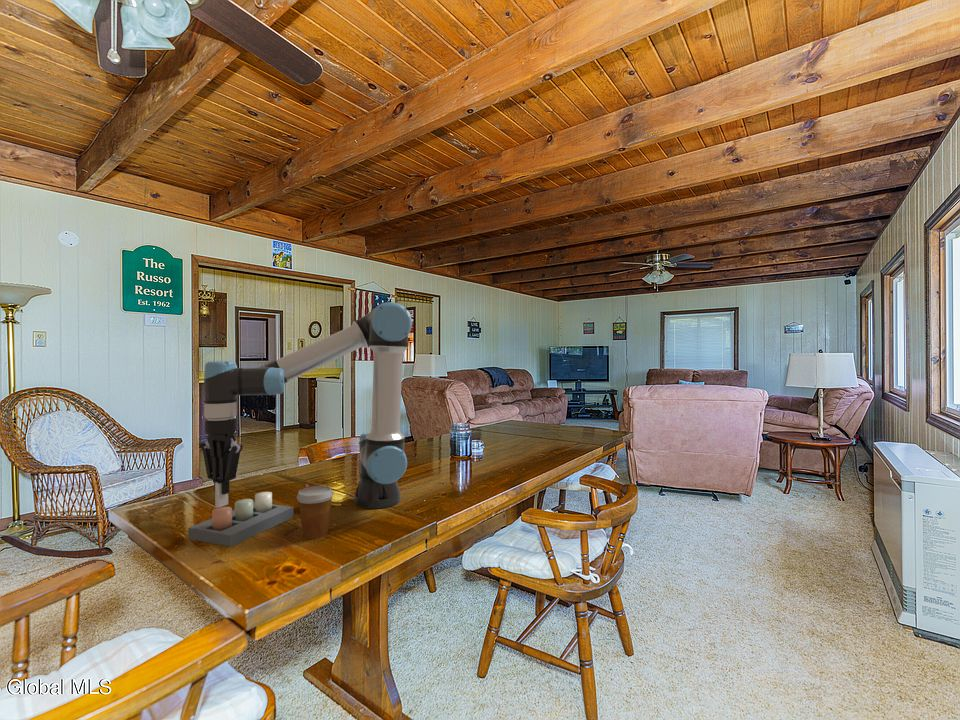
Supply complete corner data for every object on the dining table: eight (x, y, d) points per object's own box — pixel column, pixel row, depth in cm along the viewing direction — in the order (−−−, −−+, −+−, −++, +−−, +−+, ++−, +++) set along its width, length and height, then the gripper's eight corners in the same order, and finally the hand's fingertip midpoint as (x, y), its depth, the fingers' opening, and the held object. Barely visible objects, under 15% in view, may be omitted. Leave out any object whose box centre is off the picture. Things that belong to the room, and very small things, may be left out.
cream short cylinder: (275, 509, 135) (275, 492, 135) (263, 514, 131) (263, 497, 131) (263, 507, 137) (263, 491, 137) (251, 512, 132) (251, 495, 132)
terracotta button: (236, 526, 122) (235, 507, 122) (221, 532, 118) (220, 513, 118) (223, 523, 124) (223, 505, 124) (208, 530, 119) (208, 511, 119)
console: (293, 517, 135) (293, 507, 135) (230, 546, 114) (230, 535, 114) (255, 511, 140) (255, 501, 140) (188, 538, 120) (188, 527, 119)
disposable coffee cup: (297, 543, 116) (296, 498, 116) (296, 530, 125) (296, 487, 125) (335, 537, 120) (335, 493, 120) (332, 525, 129) (331, 483, 128)
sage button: (256, 517, 129) (256, 499, 129) (243, 522, 124) (243, 504, 124) (244, 515, 130) (244, 498, 130) (231, 520, 126) (230, 503, 126)
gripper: (250, 417, 121) (251, 503, 122) (215, 415, 126) (216, 498, 126) (226, 421, 114) (227, 513, 115) (190, 419, 119) (191, 507, 119)
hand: (221, 505), depth 121 cm, fingers closed
